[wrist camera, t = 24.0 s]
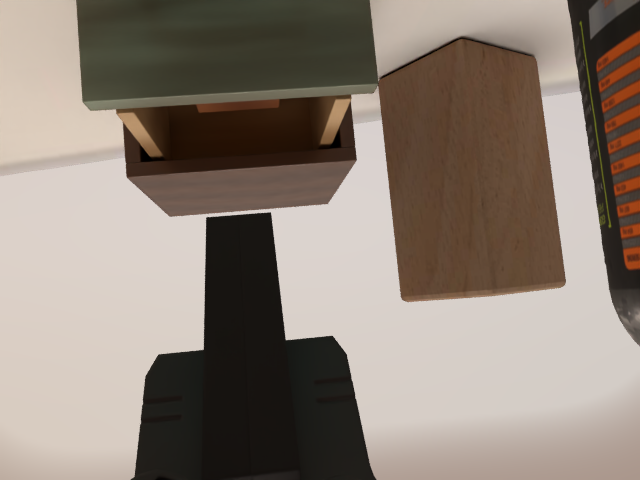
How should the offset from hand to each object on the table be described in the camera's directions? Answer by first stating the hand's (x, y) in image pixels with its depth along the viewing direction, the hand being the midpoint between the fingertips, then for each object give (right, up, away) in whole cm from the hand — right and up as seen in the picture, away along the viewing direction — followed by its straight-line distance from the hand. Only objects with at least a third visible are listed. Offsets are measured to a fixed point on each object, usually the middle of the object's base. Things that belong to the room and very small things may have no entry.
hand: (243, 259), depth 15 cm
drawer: (-3, +15, +17) cm, 23 cm away
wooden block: (+14, +16, +39) cm, 44 cm away
